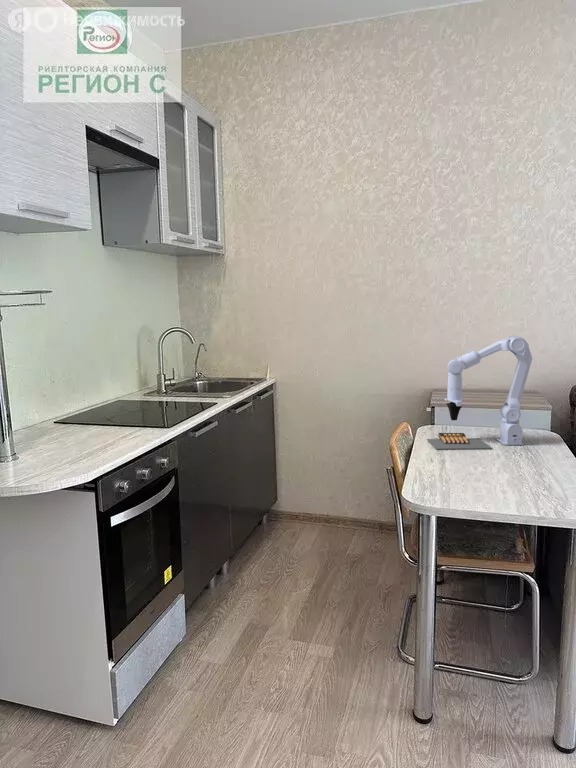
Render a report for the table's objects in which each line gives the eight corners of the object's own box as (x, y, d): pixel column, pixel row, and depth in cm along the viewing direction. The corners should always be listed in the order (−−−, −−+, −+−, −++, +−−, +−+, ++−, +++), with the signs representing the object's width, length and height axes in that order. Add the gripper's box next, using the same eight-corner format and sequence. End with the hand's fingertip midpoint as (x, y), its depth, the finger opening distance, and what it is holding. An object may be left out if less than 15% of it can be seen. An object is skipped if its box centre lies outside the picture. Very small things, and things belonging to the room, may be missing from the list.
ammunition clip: (464, 432, 230) (470, 440, 219) (463, 437, 231) (470, 445, 219) (438, 432, 232) (443, 440, 220) (438, 437, 232) (443, 445, 220)
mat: (492, 449, 213) (492, 447, 213) (436, 450, 214) (436, 448, 214) (478, 439, 229) (478, 438, 229) (426, 440, 230) (426, 439, 229)
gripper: (440, 386, 233) (439, 416, 234) (449, 391, 218) (449, 423, 220) (456, 385, 232) (456, 416, 234) (467, 390, 218) (466, 423, 220)
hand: (453, 420), depth 227 cm, fingers closed
